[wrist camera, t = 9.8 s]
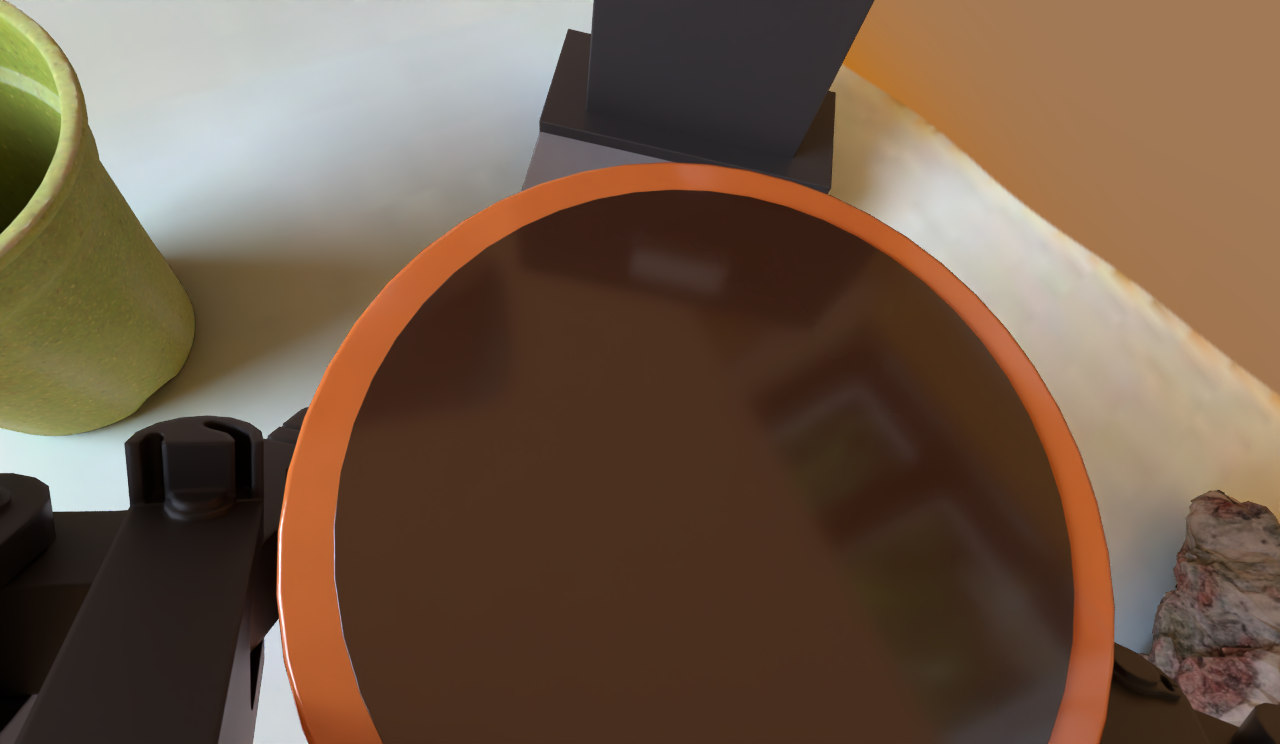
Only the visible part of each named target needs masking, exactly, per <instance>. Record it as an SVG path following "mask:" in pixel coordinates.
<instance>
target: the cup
mask: <svg viewBox="0 0 1280 744" xmlns="http://www.w3.org/2000/svg"><path fill="white" fill-rule="evenodd" d="M276 598H277V607H278V615H279V624H280V632H281V641H282V649H283V658H284V664H285V668H286V671H287V675H288V679H289V683H290V686H291V690H292V694H293V698H294V702H295V705H296V709H297V713H298V717H299V720H300V724H301V728H302V730H303V733H304V735H305V737H306V740H307V742H308V744H1100V741H1101V738H1102V734H1103V730H1104V727H1105V723H1106V719H1107V712H1108V704H1109V697H1110V689H1111V682H1112V674H1113V667H1114V614H1115V606H1114V597H1113V588H1112V579H1111V570H1110V561H1109V552H1108V548H1107V544H1106V539H1105V535H1104V530H1103V526H1102V522H1101V517H1100V513H1099V508H1098V504H1097V500H1096V497H1095V494H1094V491H1093V489H1092V486H1091V483H1090V480H1089V477H1088V474H1087V471H1086V468H1085V465H1084V462H1083V459H1082V457H1081V454H1080V451H1079V449H1078V447H1077V445H1076V443H1075V441H1074V438H1073V436H1072V434H1071V432H1070V430H1069V428H1068V426H1067V423H1066V421H1065V419H1064V417H1063V415H1062V413H1061V411H1060V408H1059V407H1058V405H1057V403H1056V402H1055V400H1054V398H1053V397H1052V395H1051V393H1050V392H1049V390H1048V388H1047V387H1046V385H1045V383H1044V381H1043V380H1042V378H1041V376H1040V375H1039V373H1038V371H1037V370H1036V368H1035V366H1034V365H1033V364H1032V362H1031V361H1030V360H1029V358H1028V357H1027V356H1026V354H1025V353H1024V351H1023V350H1022V349H1021V347H1020V346H1019V345H1018V343H1017V342H1016V341H1015V339H1014V338H1013V337H1012V335H1011V334H1010V333H1009V331H1008V330H1007V328H1006V327H1005V326H1004V325H1003V324H1002V323H1001V322H1000V321H999V320H998V318H997V317H996V316H995V315H994V314H993V313H992V312H991V311H990V310H989V309H988V307H987V306H986V305H985V304H984V303H983V302H982V301H981V300H980V299H979V297H978V296H977V295H976V294H975V293H974V292H973V291H972V290H970V289H969V288H968V287H967V286H966V285H965V284H964V283H963V282H962V281H961V280H960V279H958V278H957V277H956V276H955V275H954V274H953V273H952V272H951V271H950V270H949V269H947V268H946V267H945V266H944V265H943V264H942V263H941V262H939V261H938V260H937V259H935V258H934V257H933V256H931V255H930V254H929V253H927V252H926V251H925V250H923V249H922V248H921V247H919V246H918V245H917V244H915V243H914V242H913V241H911V240H910V239H909V238H907V237H906V236H904V235H903V234H901V233H899V232H898V231H896V230H894V229H893V228H891V227H889V226H888V225H886V224H884V223H883V222H881V221H880V220H878V219H876V218H875V217H873V216H871V215H870V214H868V213H866V212H864V211H862V210H859V209H857V208H855V207H853V206H851V205H849V204H847V203H845V202H843V201H841V200H839V199H837V198H835V197H833V196H830V195H828V194H825V193H822V192H819V191H817V190H814V189H811V188H809V187H806V186H803V185H800V184H798V183H795V182H792V181H789V180H785V179H781V178H777V177H773V176H770V175H766V174H762V173H758V172H754V171H750V170H744V169H737V168H731V167H724V166H718V165H711V164H695V163H674V162H660V163H643V164H626V165H619V166H613V167H607V168H601V169H595V170H589V171H583V172H579V173H576V174H572V175H569V176H565V177H562V178H558V179H555V180H551V181H548V182H544V183H541V184H538V185H536V186H534V187H531V188H529V189H526V190H524V191H522V192H519V193H517V194H514V195H512V196H509V197H507V198H505V199H502V200H500V201H498V202H496V203H494V204H493V205H491V206H489V207H487V208H486V209H484V210H482V211H480V212H478V213H477V214H475V215H473V216H471V217H470V218H468V219H466V220H464V221H462V222H461V223H459V224H458V225H456V226H455V227H454V228H452V229H451V230H450V231H448V232H447V233H445V234H444V235H443V236H441V237H440V238H439V239H437V240H436V241H435V242H433V243H432V244H430V245H429V246H428V247H426V248H425V249H424V250H422V251H421V252H420V253H419V254H418V255H417V256H416V257H415V258H414V259H413V260H412V261H411V262H410V263H408V264H407V265H406V266H405V267H404V268H403V269H402V270H401V271H400V272H399V273H398V274H397V275H396V276H395V277H394V278H393V279H392V280H390V281H389V282H388V283H387V284H386V286H385V287H384V288H383V289H382V291H381V292H380V293H379V294H378V295H377V297H376V298H375V299H374V300H373V301H372V303H371V304H370V305H369V306H368V308H367V309H366V310H365V311H364V312H363V314H362V315H361V316H360V317H359V318H358V320H357V321H356V322H355V324H354V325H353V327H352V328H351V330H350V332H349V333H348V335H347V336H346V338H345V340H344V341H343V343H342V344H341V346H340V348H339V349H338V351H337V352H336V354H335V356H334V357H333V359H332V360H331V362H330V363H329V365H328V367H327V369H326V371H325V373H324V375H323V378H322V380H321V382H320V384H319V386H318V388H317V391H316V393H315V395H314V397H313V399H312V402H311V404H310V406H309V408H308V410H307V413H306V415H305V417H304V420H303V424H302V427H301V430H300V433H299V437H298V440H297V443H296V447H295V450H294V453H293V456H292V460H291V463H290V466H289V470H288V473H287V479H286V485H285V491H284V497H283V503H282V510H281V516H280V522H279V528H278V543H277V586H276Z"/></svg>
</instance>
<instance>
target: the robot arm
mask: <svg viewBox="0 0 1280 744" xmlns="http://www.w3.org/2000/svg"><path fill="white" fill-rule="evenodd" d="M308 408H309V407H307V408H304V409H301V410H300V411H299V412H297V413H296V414H295V415H294V416H292V417H291V418H290V419H289V420H287V421H286V422H285V423H284V424H283V426H282V427H278V428H277V429H276V430H275V431H273V432H272V433H271V434H270V435H268V438H267V439H263V437H262V432H261V431H260V430H259V429H257V428H256V427H254V426H253V425H252V424H250V423H248V422H244V421H241V420H237V419H234V418H230V417H218V416H195V417H181V418H177V419H172V420H168V421H163V422H159V423H156V424H153V425H151V426H149V427H147V428H144V429H142V430H140V431H137V432H136V433H135V434H134V435H133V436H132V437H131V438H129V439H128V440H127V441H126V442H125V454H126V465H127V476H128V487H129V498H130V507H129V509H128V510H123V511H85V512H52V505H51V498H50V492H49V486H48V485H46V484H45V483H43V482H41V481H40V480H38V479H37V478H35V477H29V476H24V475H19V474H14V473H0V744H253V738H254V731H255V723H256V716H257V709H258V702H259V694H260V687H261V680H262V672H263V665H264V637H265V635H266V634H267V633H268V632H269V630H270V629H271V628H272V626H273V625H274V624H275V622H276V621H277V620H278V619H279V615H278V607H277V598H276V586H277V543H278V528H279V522H280V516H281V510H282V503H283V497H284V491H285V485H286V479H287V473H288V470H289V466H290V463H291V460H292V456H293V453H294V450H295V447H296V443H297V440H298V437H299V433H300V430H301V427H302V424H303V420H304V417H305V415H306V413H307V410H308ZM1100 744H1280V705H1277V704H1271V703H1262V704H1259V705H1257V706H1255V707H1254V708H1253V710H1252V711H1251V712H1250V714H1249V715H1248V716H1247V718H1246V719H1245V720H1244V722H1243V723H1242V724H1241V726H1240V727H1238V726H1235V725H1233V724H1230V723H1228V722H1225V721H1223V720H1220V719H1218V718H1215V717H1213V716H1210V715H1207V714H1205V713H1202V712H1200V711H1197V710H1195V709H1193V708H1192V706H1191V704H1190V702H1189V700H1188V698H1187V697H1186V696H1185V694H1184V693H1183V692H1182V690H1181V689H1180V687H1179V686H1178V685H1177V684H1176V683H1175V682H1174V681H1173V679H1172V678H1170V677H1169V676H1167V675H1166V674H1165V673H1164V672H1163V671H1162V670H1161V669H1160V668H1158V667H1157V666H1155V665H1154V664H1152V663H1151V662H1149V661H1148V660H1146V659H1145V658H1143V657H1142V656H1141V655H1139V654H1137V653H1135V652H1133V651H1131V650H1129V649H1127V648H1125V647H1123V646H1121V645H1119V644H1117V643H1115V642H1114V667H1113V674H1112V682H1111V689H1110V697H1109V704H1108V712H1107V719H1106V723H1105V727H1104V730H1103V734H1102V738H1101V741H1100Z"/></svg>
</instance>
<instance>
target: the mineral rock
mask: <svg viewBox="0 0 1280 744" xmlns="http://www.w3.org/2000/svg"><path fill="white" fill-rule="evenodd" d="M1191 502H1192V504H1191V505H1190V507H1189V509H1190V513H1189V514H1188V515H1187V517H1186V540H1185V542H1184V544H1183V546H1182V548H1181V550H1180V552H1178V554H1177V556H1176V557H1177V559H1176V560H1177V563H1176V566H1175V568H1174V569H1173V571H1174V574H1175V577H1176V580H1177V585H1176V588H1177V590H1176V591H1172V590H1171V591H1170V592H1167V593H1165V596H1164V597H1163V599H1162V600H1161V603H1160V604H1159V605H1158V609H1157V612H1156V616H1155V620H1154V625H1153V630H1152V633H1154V639H1153V647H1152V650H1151V653H1150V656H1149V655H1146V654H1142V653H1140V654H1139V655H1141V656H1142V657H1143V658H1145V659H1146V660H1148V661H1149V662H1151V663H1152V664H1154V665H1155V666H1157V667H1158V668H1160V669H1161V670H1162V671H1163V672H1164V673H1165V674H1166V675H1167V676H1169V677H1170V678H1172V679H1173V681H1174V682H1175V683H1176V684H1177V685H1178V686H1179V687H1180V689H1181V690H1182V692H1183V693H1184V694H1185V696H1186V697H1187V698H1188V700H1189V702H1190V704H1191V706H1192V708H1193V709H1195V710H1197V711H1200V712H1202V713H1205V714H1207V715H1210V716H1213V717H1215V718H1218V719H1220V720H1223V721H1225V722H1228V723H1230V724H1233V725H1235V726H1238V727H1240V726H1241V724H1242V723H1243V722H1244V720H1245V719H1246V718H1247V716H1248V715H1249V714H1250V712H1251V711H1252V710H1253V708H1254V707H1255V706H1257V705H1259V704H1262V703H1271V704H1277V705H1280V524H1279V522H1278V520H1277V518H1276V517H1275V516H1274V515H1273V513H1272V512H1271V511H1270V510H1269V509H1268V508H1267V507H1265V506H1262V505H1259V504H1256V503H1252V502H1249V501H1247V502H1243V503H1240V502H1238V501H1237V500H1235V499H1234V498H1231V497H1229V496H1227V495H1225V493H1224V492H1222V491H1220V490H1217V491H1209V492H1207V493H1205V494H1203V495H1200V496H1198V497H1196V498H1195V499H1193V500H1191Z"/></svg>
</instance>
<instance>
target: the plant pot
mask: <svg viewBox="0 0 1280 744" xmlns="http://www.w3.org/2000/svg"><path fill="white" fill-rule="evenodd" d="M194 333H195V319H194V311H193V308H192V305H191V302H190V299H189V297H188V295H187V293H186V291H185V290H184V288H183V287H182V285H181V283H180V282H179V280H178V279H177V277H176V276H175V274H174V272H173V271H172V269H171V268H170V266H169V265H168V264H167V262H166V261H165V259H164V258H163V256H162V255H161V253H160V252H159V250H158V249H157V248H156V246H155V245H154V243H153V242H152V240H151V239H150V237H149V236H148V234H147V233H146V231H145V230H144V228H143V227H142V225H141V224H140V222H139V220H138V219H137V217H136V216H135V214H134V213H133V211H132V210H131V208H130V206H129V205H128V203H127V202H126V200H125V199H124V197H123V196H122V194H121V193H120V191H119V189H118V188H117V186H116V185H115V183H114V182H113V180H112V179H111V177H110V176H109V174H108V173H107V171H106V169H105V168H104V166H103V165H102V163H101V162H100V160H99V154H98V150H97V146H96V143H95V139H94V136H93V134H92V131H91V129H90V127H89V125H88V117H87V110H86V104H85V99H84V95H83V92H82V89H81V86H80V83H79V80H78V77H77V75H76V73H75V71H74V69H73V67H72V65H71V63H70V62H69V60H68V58H67V57H66V55H65V54H64V52H63V51H62V49H61V48H60V47H59V45H58V44H57V43H56V42H55V41H54V39H53V38H52V37H51V36H50V35H49V34H48V33H47V32H46V31H45V30H44V29H43V28H42V27H41V26H40V25H39V24H38V23H36V22H35V21H34V20H33V19H31V18H30V17H29V16H27V15H26V14H25V13H23V12H22V11H21V10H19V9H17V8H16V7H15V6H14V5H12V4H11V3H9V2H7V1H4V0H0V428H3V429H8V430H12V431H17V432H22V433H27V434H33V435H44V436H61V435H71V434H77V433H82V432H88V431H91V430H95V429H98V428H101V427H104V426H108V425H110V424H113V423H115V422H117V421H120V420H122V419H124V418H126V417H127V416H129V415H131V414H133V413H134V412H135V411H137V410H138V408H139V407H140V406H141V405H142V404H143V403H144V402H145V401H146V400H147V399H148V398H149V397H150V396H151V395H152V394H153V393H154V392H155V391H157V390H158V389H159V388H160V387H161V386H163V385H164V384H165V383H166V382H168V381H169V380H170V379H172V378H173V377H175V376H176V375H177V374H178V373H179V371H180V370H181V368H182V367H183V365H184V363H185V361H186V360H187V357H188V355H189V352H190V350H191V347H192V344H193V339H194Z"/></svg>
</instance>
